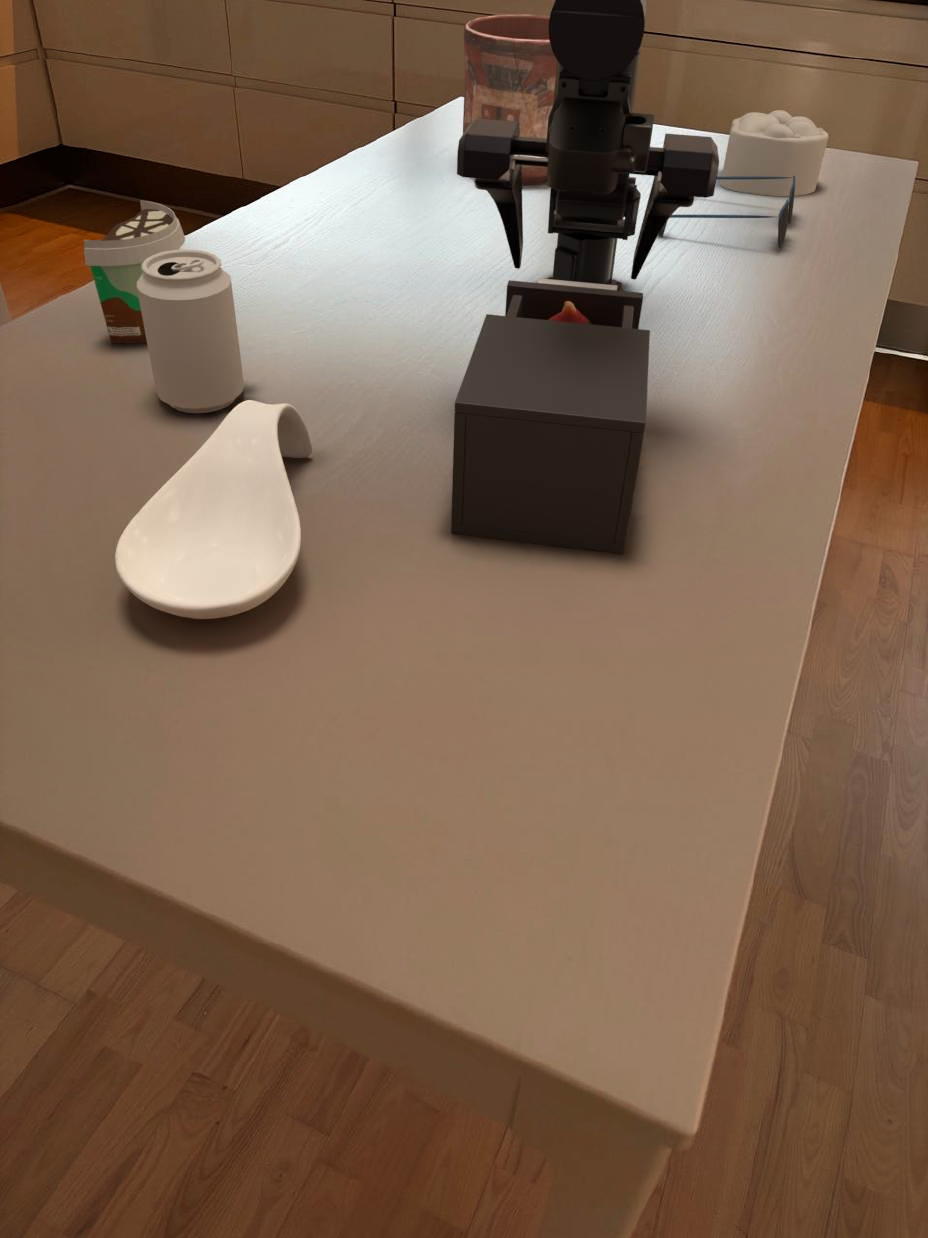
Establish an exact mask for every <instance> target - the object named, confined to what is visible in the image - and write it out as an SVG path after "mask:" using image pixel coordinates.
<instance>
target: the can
mask: <svg viewBox="0 0 928 1238" xmlns="http://www.w3.org/2000/svg"><path fill="white" fill-rule="evenodd" d="M142 271H143V272H144V273H143V274H142V276H141V277H140V278H139V280H138V281H137V291H138V296H139V302H140V307H141V312H142V318H143V323H144V328H145V334H146V339H147V342H146V344H147V348H148V355H149V361H150V366H151V371H152V377H153V381H154V387H155V393H156V395H157V397H158V398H159V400H160V401H162V402H164V403H166V404H167V405H169V406H170V407H171V408H173V409H175V410H177V411H178V412H184V413H187V414H206V413H212V412H216V411H220V410H223V409H224V408H225V409H226V408H227V407H229V406H230V405H231V404H233V403H234V402H235V400H236V399H237V398H238V397H239V396H240V395H241V394H242V393H243V391H244V389H245V381H244V374H243V365H242V358H241V349H240V341H239V333H238V325H237V317H236V309H235V301H234V300H235V299H234V291H233V285H232V284H233V283H232V278H231V275H230V274H229V273H228V272H227V271H225V270H224V269H223V268H222V260H221V258H219V257H218V256H217V255H216V254H215V253H211V252H208V251H205V250H199V249H189V248H188V249H187V248H186V249H179V250H171V251H165V252H161V253H158V254H155V255H152V256H151V257H149V258H147V259H146V260H145V261H144V262H143V263H142Z"/></svg>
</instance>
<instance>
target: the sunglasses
mask: <svg viewBox="0 0 928 1238" xmlns="http://www.w3.org/2000/svg"><path fill="white" fill-rule="evenodd" d="M785 178H791V177H770V176H722V175H721V176H720V175H719V176H718V175H717V180H721V179H785ZM793 178H794V179H793V184H792V187H791V190H790V195H789V196H788V198H787V199H786V200H785V203H784V204H783V205H782V207H781V208H780V210H779V213H778V216H777V219H778V223H777V244H778V248H779V249H781V248H782V247H783V244H784V243H785V238H786V235H787V229H788V225H790V224H791V222H792V218H793V213H794V212H793V211H794V204H795V203H794V202H795V196H794V192H795V176H793ZM681 218H682V219H770V218H772V219H773V218H775V216H773V215H754V214H753V215H752V214H672V215H671V216H670V217H669V219H681ZM669 219H668V220H667V222H666V223H665V225H664V226H663V228H662V229H661V231H660V232H659V234H658V236H657V237H659V238H663V237H664V235H665V231H666V227H667V224H668V221H669Z"/></svg>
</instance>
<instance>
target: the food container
mask: <svg viewBox="0 0 928 1238" xmlns="http://www.w3.org/2000/svg"><path fill="white" fill-rule="evenodd" d="M185 242H186V237H185V234H184V231H183V228H182V225H181V223H180V220H179V218H178V217H177V216H176V214H175V212H174V210H172V209H171V208H169V206H166V205H163V204H161V203H157V202H153V201H149V200H142V199H141V200H140V211H139V212H138V213H137V214H136V215H135V216H133V217H132V218H130V219H128V220H125V221H121V222H119V223H117V224H116V225H115V226H113V228H111V229H110V231H109V232H108V233H107V234H106V236H104V237H103V238H102V239H101V240H91V239H83V244H84V248H83V251H84V252H83V254H84V262H85V266H90V270H91V273H92V278H93V282H94V285H95V288H96V292H97V296H98V299H99V303H100V306H101V310H102V314H103V319H104V322H105V325H106V328H107V329H106V330H107V332H108V335H109V339H110V343H113V344H140V343H147V339H146V334H145V328H144V323H143V318H142V312H141V307H140V302H139V296H138V291H137V281H138V280H139V278H140V277H141V276H142V274H143V273H144V272H143V271H142V263H143V262H144V261H145V260H146V259H147V258H149V257H151V256H152V255H155V254H158V253H161V252H165V251H171V250H180V248H181V247H182V246H183V245H184V243H185Z"/></svg>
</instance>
